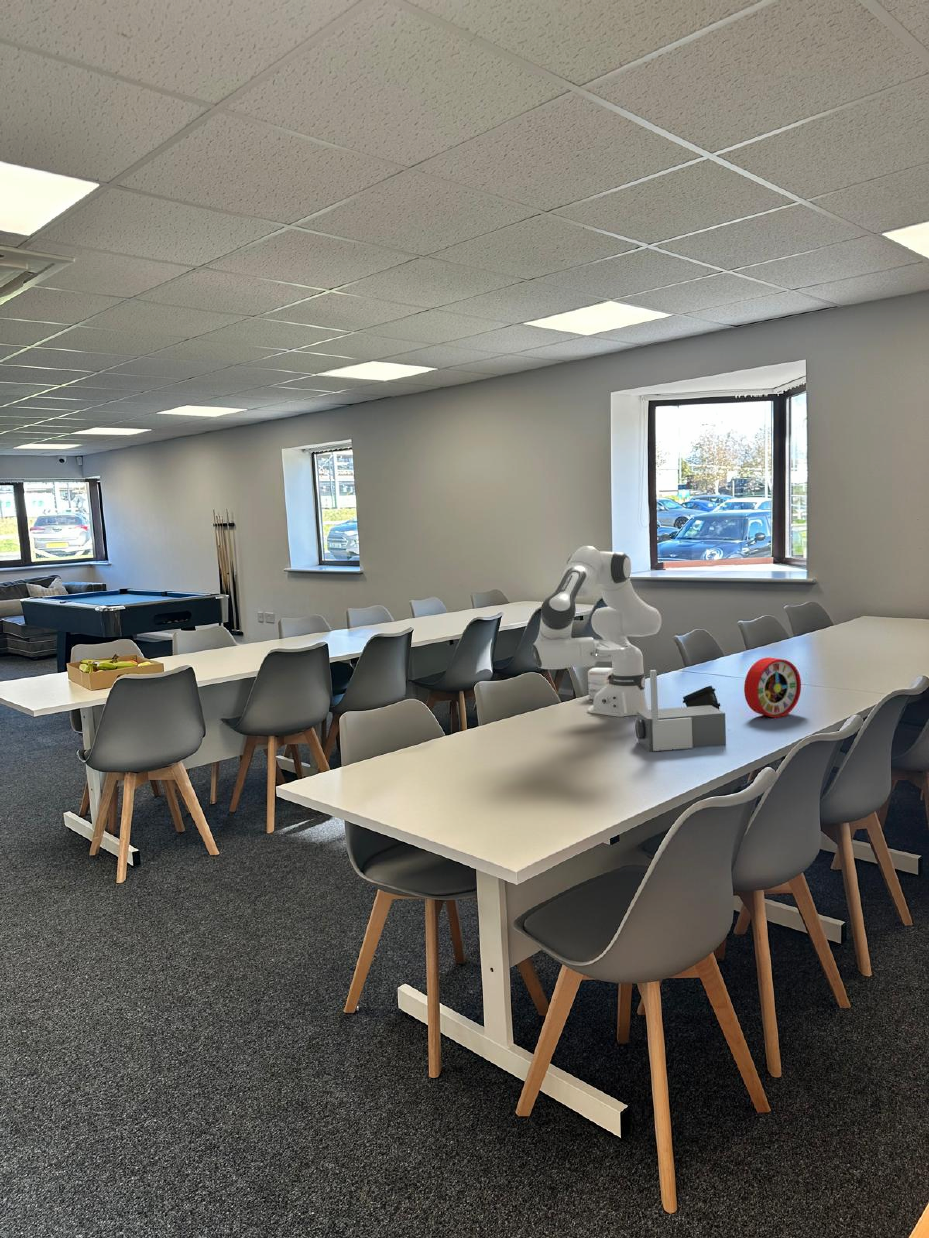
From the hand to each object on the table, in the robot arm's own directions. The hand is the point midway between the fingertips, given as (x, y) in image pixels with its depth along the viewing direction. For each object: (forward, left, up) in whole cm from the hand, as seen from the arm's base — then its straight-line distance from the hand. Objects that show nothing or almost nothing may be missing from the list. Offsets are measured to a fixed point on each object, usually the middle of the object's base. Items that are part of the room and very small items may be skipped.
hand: (633, 648), depth 253 cm
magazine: (+9, +34, -32) cm, 48 cm away
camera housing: (+8, +16, -32) cm, 36 cm away
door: (+9, +7, -32) cm, 33 cm away
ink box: (-44, +72, -32) cm, 90 cm away
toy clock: (+25, +61, -32) cm, 74 cm away
